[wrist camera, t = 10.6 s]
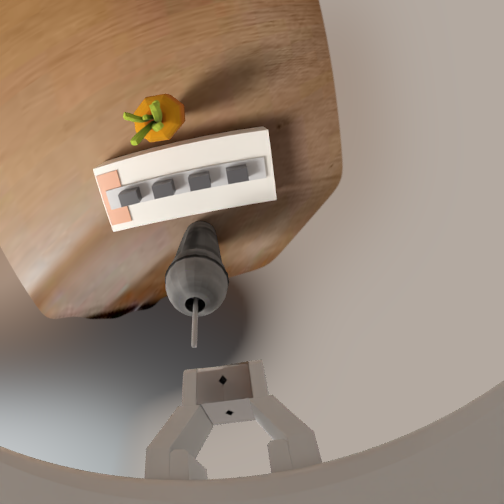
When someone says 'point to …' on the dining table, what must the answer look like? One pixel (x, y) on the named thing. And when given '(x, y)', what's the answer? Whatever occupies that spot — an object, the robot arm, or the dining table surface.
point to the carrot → (157, 118)
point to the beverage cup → (197, 274)
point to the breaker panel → (187, 178)
